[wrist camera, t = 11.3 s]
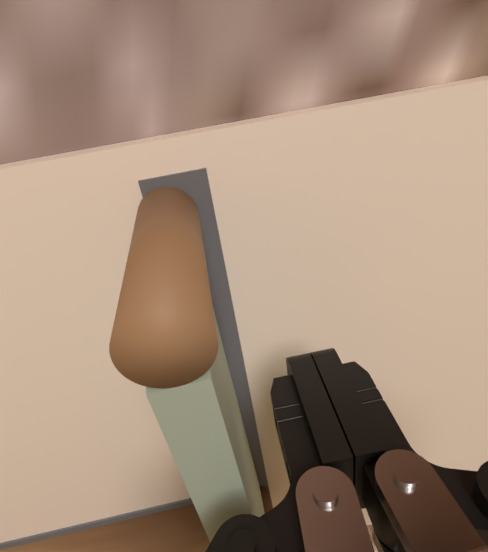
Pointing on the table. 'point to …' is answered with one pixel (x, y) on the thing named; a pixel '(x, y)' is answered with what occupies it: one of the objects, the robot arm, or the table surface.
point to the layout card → (246, 292)
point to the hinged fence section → (183, 358)
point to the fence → (137, 534)
